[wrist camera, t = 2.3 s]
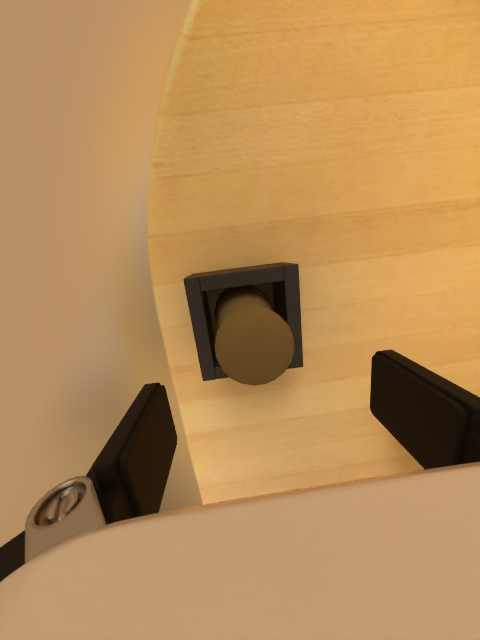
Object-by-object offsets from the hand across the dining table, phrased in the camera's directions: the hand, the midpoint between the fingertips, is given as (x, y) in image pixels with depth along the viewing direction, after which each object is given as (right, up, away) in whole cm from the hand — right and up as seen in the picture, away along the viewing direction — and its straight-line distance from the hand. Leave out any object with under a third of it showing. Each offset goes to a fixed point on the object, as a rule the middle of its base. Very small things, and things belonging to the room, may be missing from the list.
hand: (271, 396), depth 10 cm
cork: (-1, +4, +14) cm, 15 cm away
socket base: (-1, +4, +14) cm, 14 cm away
